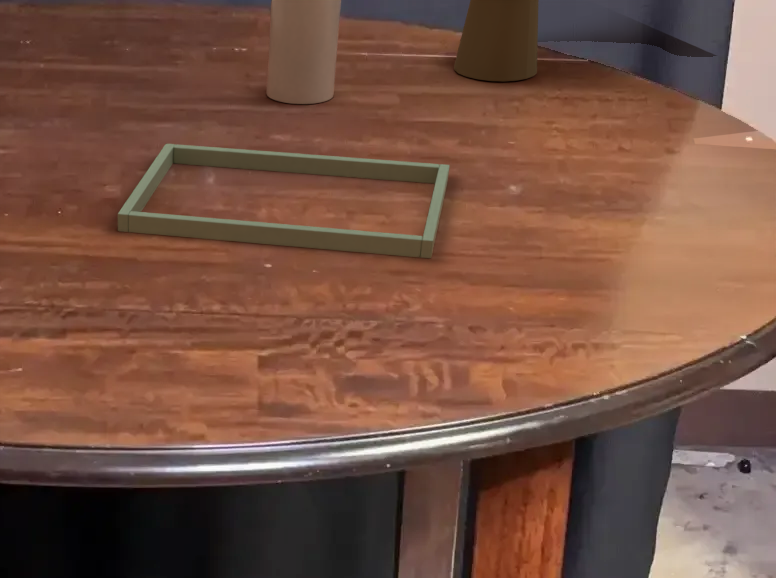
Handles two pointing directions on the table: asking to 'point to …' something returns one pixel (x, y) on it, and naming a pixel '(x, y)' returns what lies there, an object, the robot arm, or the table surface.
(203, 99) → the table surface
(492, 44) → the cork
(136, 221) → the sage frame
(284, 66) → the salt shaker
